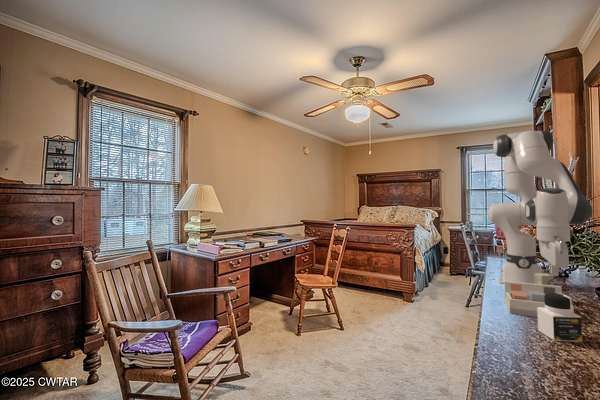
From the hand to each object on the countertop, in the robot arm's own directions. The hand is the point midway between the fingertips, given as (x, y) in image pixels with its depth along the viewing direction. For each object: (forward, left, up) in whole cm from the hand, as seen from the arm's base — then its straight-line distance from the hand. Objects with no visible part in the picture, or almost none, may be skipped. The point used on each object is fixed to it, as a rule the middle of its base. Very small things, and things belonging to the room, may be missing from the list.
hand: (554, 275), depth 102 cm
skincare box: (-18, 0, -14) cm, 23 cm away
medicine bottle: (+21, -4, -14) cm, 25 cm away
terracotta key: (+1, -10, -10) cm, 14 cm away
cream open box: (-2, -5, -14) cm, 15 cm away
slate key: (+1, -5, -9) cm, 10 cm away
